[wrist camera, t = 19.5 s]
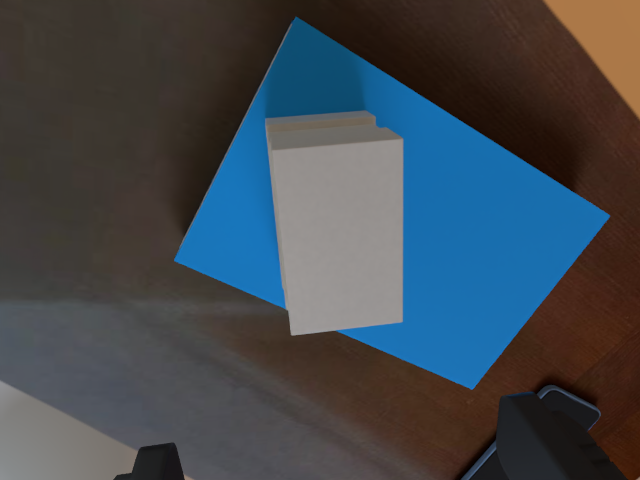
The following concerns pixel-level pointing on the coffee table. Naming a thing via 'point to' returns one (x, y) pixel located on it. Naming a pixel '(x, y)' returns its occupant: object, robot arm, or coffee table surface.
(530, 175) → the book
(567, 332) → the coffee table surface
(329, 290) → the light grey block
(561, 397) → the smartphone
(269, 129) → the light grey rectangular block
